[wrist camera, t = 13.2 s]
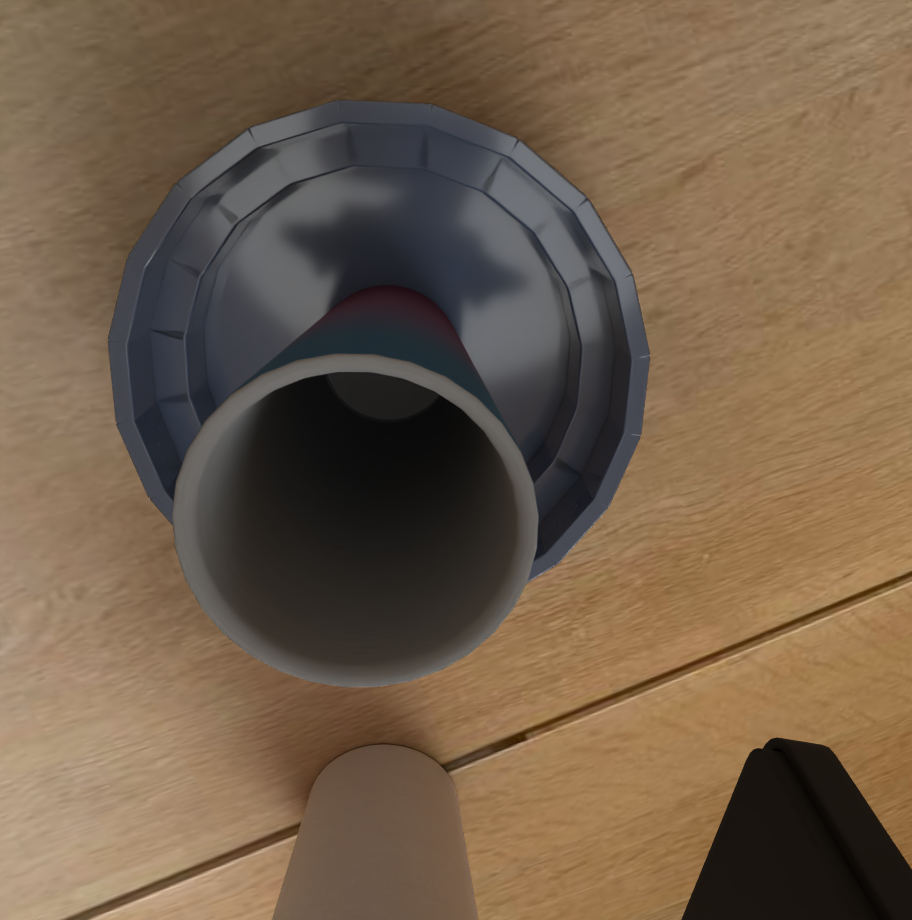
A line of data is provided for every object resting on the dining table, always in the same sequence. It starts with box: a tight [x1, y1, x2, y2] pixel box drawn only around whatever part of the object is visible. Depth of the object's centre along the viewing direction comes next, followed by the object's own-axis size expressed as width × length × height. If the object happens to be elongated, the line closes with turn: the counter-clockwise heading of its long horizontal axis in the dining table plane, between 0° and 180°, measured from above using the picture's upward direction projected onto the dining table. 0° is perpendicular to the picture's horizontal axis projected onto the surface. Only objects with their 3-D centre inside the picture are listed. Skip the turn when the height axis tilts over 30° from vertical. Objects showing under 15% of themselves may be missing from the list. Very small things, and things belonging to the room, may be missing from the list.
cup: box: [172, 285, 539, 687], centre depth 23 cm, size 7×7×15 cm
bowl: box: [108, 100, 650, 584], centre depth 28 cm, size 16×16×5 cm
